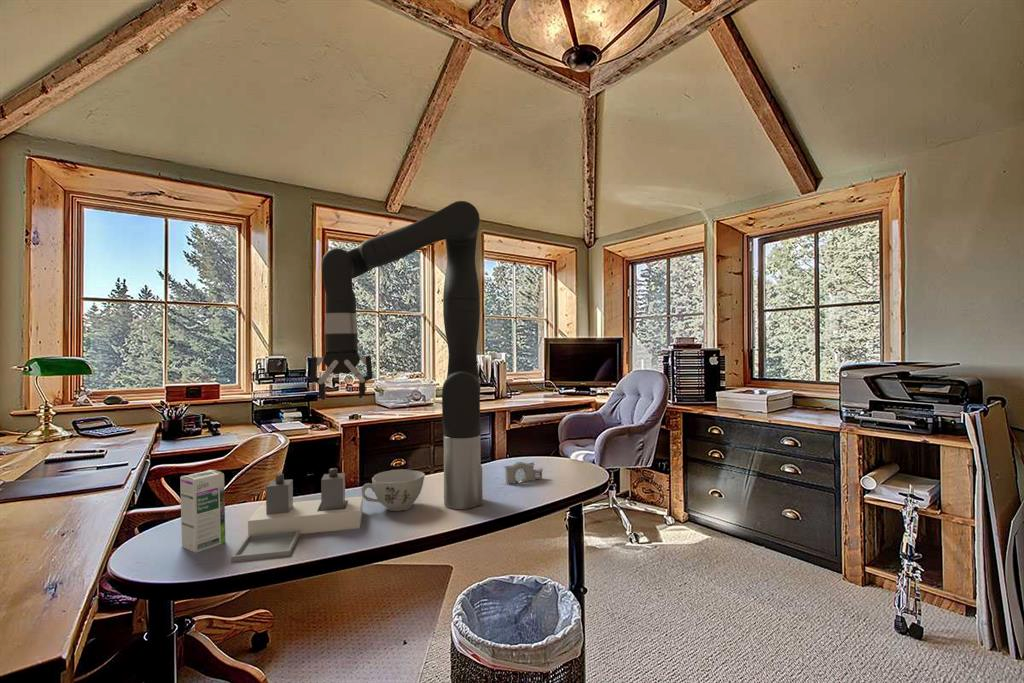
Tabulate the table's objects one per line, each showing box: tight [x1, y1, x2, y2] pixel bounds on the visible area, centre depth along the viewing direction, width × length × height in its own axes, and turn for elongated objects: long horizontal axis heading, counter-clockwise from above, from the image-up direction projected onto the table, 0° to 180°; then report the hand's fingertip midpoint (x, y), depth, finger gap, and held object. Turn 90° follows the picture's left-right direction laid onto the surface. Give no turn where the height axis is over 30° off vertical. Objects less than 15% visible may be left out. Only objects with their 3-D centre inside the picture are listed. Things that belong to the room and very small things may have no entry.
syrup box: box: [179, 469, 226, 554], centre depth 95 cm, size 6×6×14 cm
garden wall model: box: [504, 461, 544, 485], centre depth 138 cm, size 12×2×6 cm, turn 117°
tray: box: [230, 530, 301, 563], centre depth 94 cm, size 10×10×1 cm
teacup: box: [361, 468, 426, 512], centre depth 116 cm, size 15×12×8 cm
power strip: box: [247, 473, 364, 535], centre depth 105 cm, size 22×10×12 cm, turn 104°
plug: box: [320, 467, 346, 511], centre depth 107 cm, size 4×4×12 cm
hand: (342, 398), depth 116 cm, fingers open, 8 cm apart
